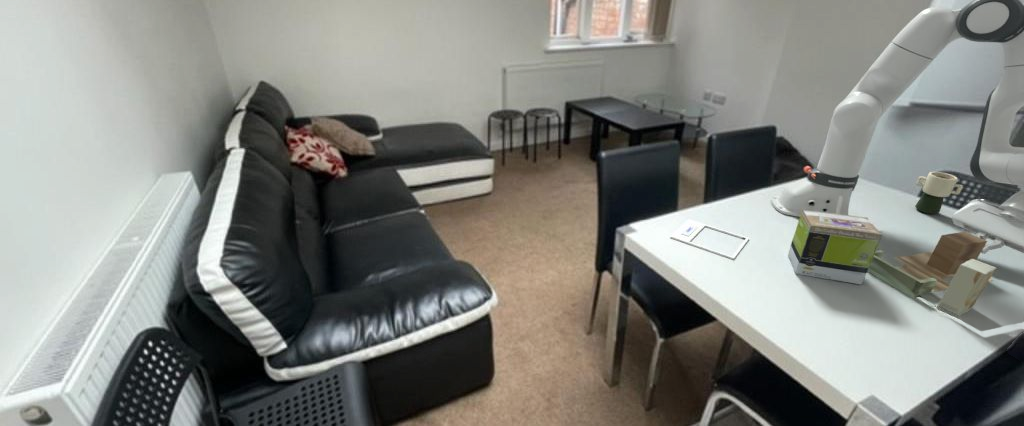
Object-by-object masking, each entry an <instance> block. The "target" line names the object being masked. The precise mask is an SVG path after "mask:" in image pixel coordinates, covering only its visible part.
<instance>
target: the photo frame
mask: <svg viewBox="0 0 1024 426" xmlns="http://www.w3.org/2000/svg"><path fill="white" fill-rule="evenodd" d="M704 228H708V229H711V230H714V231H717V232H720V233H723V234H727V235H730V236H733V237H736V238H739V239H742V240H743V239H744V240H743V241H742V243H741V244H740V246H739V247H738V248H737V249H736V251H735V252H734V253H733V254H732V255H729V254H726V253H723V252H720V251H717V250H715V249H711V248H709V247H707V246H703V245H701V244H698V243H694V242H692V241H693V240H694V238H695V237H696V236H697V235H699V233H700V232H701V231H702V230H703V229H704ZM670 239H673V240H674V241H675V240H676V241H677V242H678V241H679V242H681V243H684V244H687V245H689V246H692V247H696V248H699V249H701V250H704V251H706V252H710V253H713V254H715V255H716V254H717V255H719V256H722V257H725V258H728V259H730V260H735V258H736V257H737V256H738V255H739V254H740V252H741V251H742V249H743V248H744V247H745V245H746V244H747V243H748V241H750V237H748V236H744V235H741V234H737V233H734V232H732V231H728V230H724V229H721V228H718V227H715V226H712V225H709V224H705V223H702V222H699V221H696V220H692V219H687V220H686V221H685V222H684V223H683V224H682V225H681V226H680V227H679V228H678V229H677V230H675V232H673V234H672V235H670Z"/></svg>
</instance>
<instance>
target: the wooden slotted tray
mask: <svg viewBox="0 0 1024 426" xmlns="http://www.w3.org/2000/svg"><path fill="white" fill-rule="evenodd" d="M884 253H885V251H883V250H881V249H880V250H877V249H876V251H875V254H874V256H873V259H872V261H871V264H870V266H869V268H868V271H867V273H869V274H871V275H873V276H874V277H876V278H878V279H880V280H881V281H883V282H884V283H886V284H888V285H890V286H891V287H893V288H895V289H897V290H898V291H900V292H902V293H903V294H905V295H906V296H909V297H911V298H912V299H916V298H922V296H921V295H924V294H928V293H929V294H930V293H933V292H938V291H946V290H947V288H948V286H949V284H950V282H948V281H946V280H944V278H951V277H954V275H955V274H956V273H955V274H949V275H947V274H945V273H943V272H941V271H939V270H937V269H935V268H933V267H931V266H929V265H927V263H928V261H929V259H930V257H931V255H932V253H933V251H929V252H923V253H915V254H911V255H905V256H898V257H894V258H893V259H894V260H897V261H898V262H900V263H902V264H904V265H903V266H895V265H893V264H892V263H890V262H888V261H886V260H884V259H882V257H883V255H884ZM991 281H993V278H990V279H989V281H988V282H991Z"/></svg>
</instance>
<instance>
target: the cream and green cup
mask: <svg viewBox="0 0 1024 426" xmlns="http://www.w3.org/2000/svg"><path fill="white" fill-rule="evenodd" d="M923 180H924V182H923V183H921V182H922V181H923ZM958 180H959V178H958V177H957V176H955V175H954V174H949V173H946V172H943V171H942V172H940V171H930V172H929V173H928V174H927V177H926V176H923V175H921V176H919V177H918V179H917V181H916V183H915V185H916V186H918V187H922V192H923V194H922V195H921V196H920V198H919V199H918V201H917V202H916V204H915V205H914V206H915V208H916V209H917V210H918V211H921V212H923V213H926V214H939V213H940V212H941V209H942V206H943V202H944V198H947V197H949V196H951V194H952V195H959V194H961V191H962V189H963V187H964V186H963V185H962V184H958V183H957V182H958ZM954 188H957V189H956V190H954Z"/></svg>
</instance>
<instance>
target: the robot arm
mask: <svg viewBox="0 0 1024 426" xmlns="http://www.w3.org/2000/svg"><path fill="white" fill-rule="evenodd" d="M962 38H964V39H965V40H968V41H970V42H976V43H999V44H1000V45H1001V47H1002V50H1003V69H1002V71H1003V72H1002V74H1001V78H1000V81H999V83H998V85H997V86H996V87H995V88H994V89H992V91H991V92H990V93H989V95H988V96H987V97H988V98H987V99H986V103H985V107H984V110H983V115H982V119H981V125H980V128H979V134H978V139H977V143H976V147H975V149H974V151H973V153H972V156H971V158H970V161H969V170H970V173H971V174H972V175H973V177H974V178H975V179H976V180H978V181H980V182H982V183H995V184H1007V185H1008V184H1010V185H1013V186H1014V185H1016V186H1018V187H1019V189H1020V190H1019V191H1017V192H1015V193H1014V194H1012V195H1011V196H1010V197H1008V198H1007V199H1006V200H1005V201H1003V203H1001V204H999V203H996V202H993V201H990V200H988V199H985V198H984V199H983V198H982V199H980V198H979V199H972V200H971V201H969V202H968V203H967V204H966V205H965V206H962V207H961V208H959V209H958V210H957V211H956V212H954V213H953V214H952V215H951V220H952V223H953V224H954V225H955V226H957V227H960V228H962V229H964V230H967V231H969V232H971V233H974V234H976V235H975V236H976V237H979V238H981V239H983V240H986V241H987V239H989V240H990V241H993V242H992V243H988V244H985V246H984V248H983V249H982V251H981V253H980V254H983V255H985V254H987V253H988V252H989V251H992V250H996V249H1001V248H1003V247H1004V246H1005V247H1008V248H1010V249H1013V250H1015V251H1017V252H1020V253H1022V254H1024V147H1023V146H1022V147H1020V146H1012V144H1010V138H1011V133H1012V129H1013V127H1014V122H1015V121H1014V120H1015V117H1016V114H1017V113H1018V111H1019V110H1020V109H1021V108H1023V107H1024V4H1023V2H1022V0H972V1H970V2H969V3H968V4H966V5H965V6H963V7H961V8H959V9H952V8H948V7H944V6H932V7H927V8H925V9H923V10H921V12H919V13H918V14H917V15H916V16H914V17H913V18H912V19H911V20H910V21H909V22H908V23H907V24H906V25H905V26H904V27H903V28H902V29H901V30H900V31H899V32H898V33H897V35H895V37H894V38H893V39H892V40H891V42H890V43H889V44H888V45H887V46H886V47H885V49H884V50H883V52H881V53H880V55H879V56H878V58H876V59H875V61H874V62H873V63H872V64H871V66H870V67H869V68H868V70H867V71H866V72H865V73H864V74H863V76H862V77H861V78H860V80H859V81H858V82H857V83H856V85H855V86H854V87H853V88H852V90H851V91H850V92H849V94H848V95H847V96H846V97H845V98H844V99H843V100H842V101H841V102H840V103H838V105H836V107H835V109H833V114H832V117H831V119H830V123H829V127H828V131H827V135H826V138H825V143H824V146H823V148H822V151H821V155H820V158H819V161H818V164H817V166H816V167H814V168H811V166H809V165H806V166H804V167H803V171H804V172H805V173H806V174H807V177H804V178H802V179H799V180H797V181H793V182H791V183H789V184H786V185H784V187H783V189H782V191H781V193H780V194H779V195H773V196H772V197H771V199H770V203H771V205H772V207H773V208H774V209H775V210H776V211H778V212H779V213H781V214H782V215H788V216H794V217H799V218H800V215H801V212H802V210H808V211H817V212H825V213H834V214H841V215H849V207H850V202H851V197H852V194H853V192H854V190H855V188H856V186H857V184H858V181H859V177H860V175H859V173H860V171H861V167H862V166H863V162H864V160H865V159H866V156H867V153H868V151H869V146H870V144H871V141H872V139H873V136H874V133H875V131H876V128H877V126H878V123H879V121H880V119H881V117H883V115H884V114H885V113H886V112H887V111H888V109H890V108H891V107H892V106H893V104H894V103H895V102H896V101H897V100H898V99H899V98H900V97H901V96H902V95H903V94H904V93H905V92H906V91H907V90H908V88H909V87H910V86H911V85H912V84H914V82H915V81H916V80H917V79H918V78H919V77H920V75H922V73H923V72H924V71H925V70H926V69H927V68H928V67H929V66H930V65H931V64H932V62H933V61H934V60H935V59H936V58H937V57H938V56H939V55H940V53H941V52H942V51H943V50H944V49H945V48H946V47H947V46H949V44H950V43H952V42H955V41H956V40H959V39H962Z"/></svg>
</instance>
